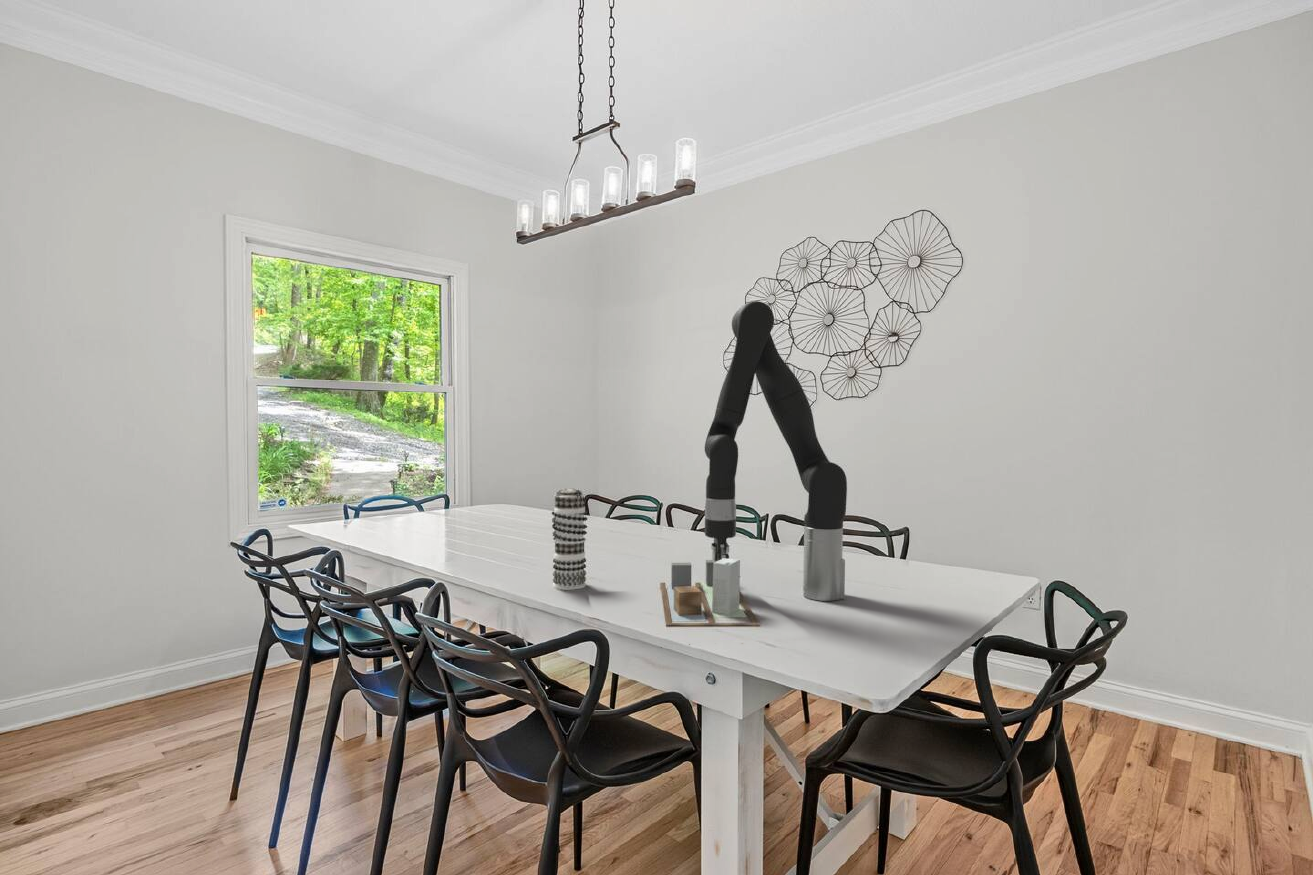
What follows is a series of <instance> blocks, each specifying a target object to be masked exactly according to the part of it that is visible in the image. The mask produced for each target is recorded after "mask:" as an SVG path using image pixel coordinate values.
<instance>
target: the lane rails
mask: <svg viewBox="0 0 1313 875" xmlns="http://www.w3.org/2000/svg"><path fill="white" fill-rule="evenodd" d="M659 586H660V588H659V589H660V591H661V599H662V606H663V613H664V622H665V627H667V628H668V627H670V628H671V627H673V628H675V627H683V628H684V627H760V625H761V624H760V623H759V621H758V619H757V618H756V616H755V614H754V612H753V610H752V609H751V606H750V605H749V604H748V602H747V600H746V599H745V597H744V595H743V594H742V592H741V590H740V591H739V603H740V605H742V606H741V607H742V608H743V609H744V612H745V614H746V616H748V619H749V620H750V622H716V621H715V617H714V614H713V613H712V609H711V606H709V605H710V604H709V601H708V599H707V596H706V593H705V591H704V588H702V583H701V582H695V585H694V586H696V587H697V588H698V589H699V590H700V591H702V606H703V607H702V608H703V609H704V614H705V615H706V619H707V622H672V618H671V611H670V605H669V604H670V603H669V598H668V591H667V588H666V587H667V586H666V582H660V584H659Z"/></svg>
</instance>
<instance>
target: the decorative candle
mask: <svg viewBox="0 0 1313 875" xmlns="http://www.w3.org/2000/svg"><path fill="white" fill-rule="evenodd" d="M585 496H586V494H583V492H582V491H581V490H580V489H578V488H560V489H558V491H556V494H554V495H553V497H555V498H554V502H555V503H554V504H555V505H554V511H551V515H552V516H553V517H552V518H551V522H552V523H553V524H552V526H551V529H553V530H554V531H552V536H553V538H552V540H553V543H555V544H554V558H553V560H552V561H553V563H554V564H553V565H552V568H553V569H554V571H553V573H552V576H553V578H552V582H553V584H552V586H553V587H552V588H554V589H557V590H561V591H562V590H564V591H566V590H567V591H570V590H571V591H572V590H580V589H583V588H585V587H586V586H587V584H586V582H587V577H586V576H587V571H586V570H585V569H586V568H587V565H586V564H585V563H586V562H587V558H586V552H585V542H587V541H586V540H587V539H586V537H585V535H587V533H588V532H587V531H586V529H587V528H588V526H587V525H586V524H585V522H586V521H588V518H587V515H588V514H589V512H588V511H586V506H585Z"/></svg>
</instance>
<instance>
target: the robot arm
mask: <svg viewBox="0 0 1313 875" xmlns="http://www.w3.org/2000/svg"><path fill="white" fill-rule="evenodd" d="M774 325H775V314H774V312H773V311H772V309H771V307H770V306H769V305H768V304H767V303H764V302H763V301H758V300H755V301H754V300H753V301H750V302H748V303H746V304H744V305H742V306H741V307H740V308H739V309H738V310H737V311H735V313H734V315H733V316H732V320H731V329H732V332H733V335H734V336H735V338H736V342H735V348H734V352H733V356H732V360H731V363H730V365H729V367H728V371H727V373H726V376H725V377H724V378H725V379H724V381H723V383H722V385H721V386H722V387H721V389H720V393H719V396H718V401H717V404H716V406H715V407H716V408H715V412H714V416H713V420H712V422H711V425H710V428H709V430H708V433H707V436H706V439H705V442H704V453H705V456H706V457H707V459H709V467H708V468H709V469H708V471H709V473H708V475H707V477H706V483H705V485H706V486H705V504H704V505H705V506H704V536H705V537H707V538H709V539H710V538H712V539H713V542H711V544H710V549H711V556H712V558H711V560H712V561H713V563H714V562H717V561H719V560H721V559H723V558H725V559H730V555H729V553H730V544H728V542H727V539H733V538H734V537H736V535H737V504H736V475H737V469H738V463H739V446H738V443H737V441H736V440H735V439H736V436H737V432H738V430H739V427H740V426H741V425H742V424H743V421H744V420H745V419H744V418H745V415H746V411H747V406H748V403H749V399H750V394H751V390H752V387H753V384H754V383H753V382H754V379H755V378H756V379H757V382H758V384H759V387H760V389H761V392H762V394H763V396H764V400H765V402H766V404H767V406H768V408H769V411H770V413H771V415H772V417H773V419H774V421H775V423H776V425H777V427H778V429H779V431H780V433H781V435H782V437H783V439H784V440H785V442H786V445H787V446H788V448H789V450H790V451H791V454H792V457H793V460H794V463H795V466H796V469H797V472H798V475H799V478H800V481H801V482H800V483H801V484H802V486H803V488H804V490H805V491H806V492H807V493H808V500H807V502H808V503H807V505H808V506H807V511H806V513H805V514H804V519H803V520H804V521H803V524H804V525H803V584H802V588H803V589H802V590H803V592H802V595H803V597H805V598H807V599H810V600H813V601H814V600H817V601H822V602H826V601H827V602H830V601H838V600H845V599H846V598H845V596H846V595H845V594H846V593H845V592H846V591H845V589H846V584H845V583H846V582H845V581H846V580H845V579H846V560H845V558H843V549H844V548H843V547H844V546H843V545H844V544H843V543H844V541H843V539H844V538H843V537H844V535H843V534H844V528H843V527H844V520H845V517H846V512H847V496H848V482H847V475H846V473H845V471H844V469H843V468H842V467H841V466H839V465H838V464H837V463H835V462H831V461H830V460H829V459H828V456H827V455H826V453H825V451H824V450H823V448H822V446H821V444H820V442H819V439H818V437H817V432H816V427H815V421H814V415H813V412H812V407H811V405H810V403H809V400H808V398H807V396H806V394H805V391H804V389H803V386H802V385H801V383H800V381H799V379H798V378H797V376H796V375H795V373H794V372H793V371H792V369H791V368H790V367H789V366H788V365H787V363H786V362H785V361H784V359H783V358H782V357H781V355H780V352H778V349H777V347H776V345H775V342H774V339H773V337H772V333H771V332H772V331H773V328H774ZM755 376H756V377H755Z"/></svg>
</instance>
